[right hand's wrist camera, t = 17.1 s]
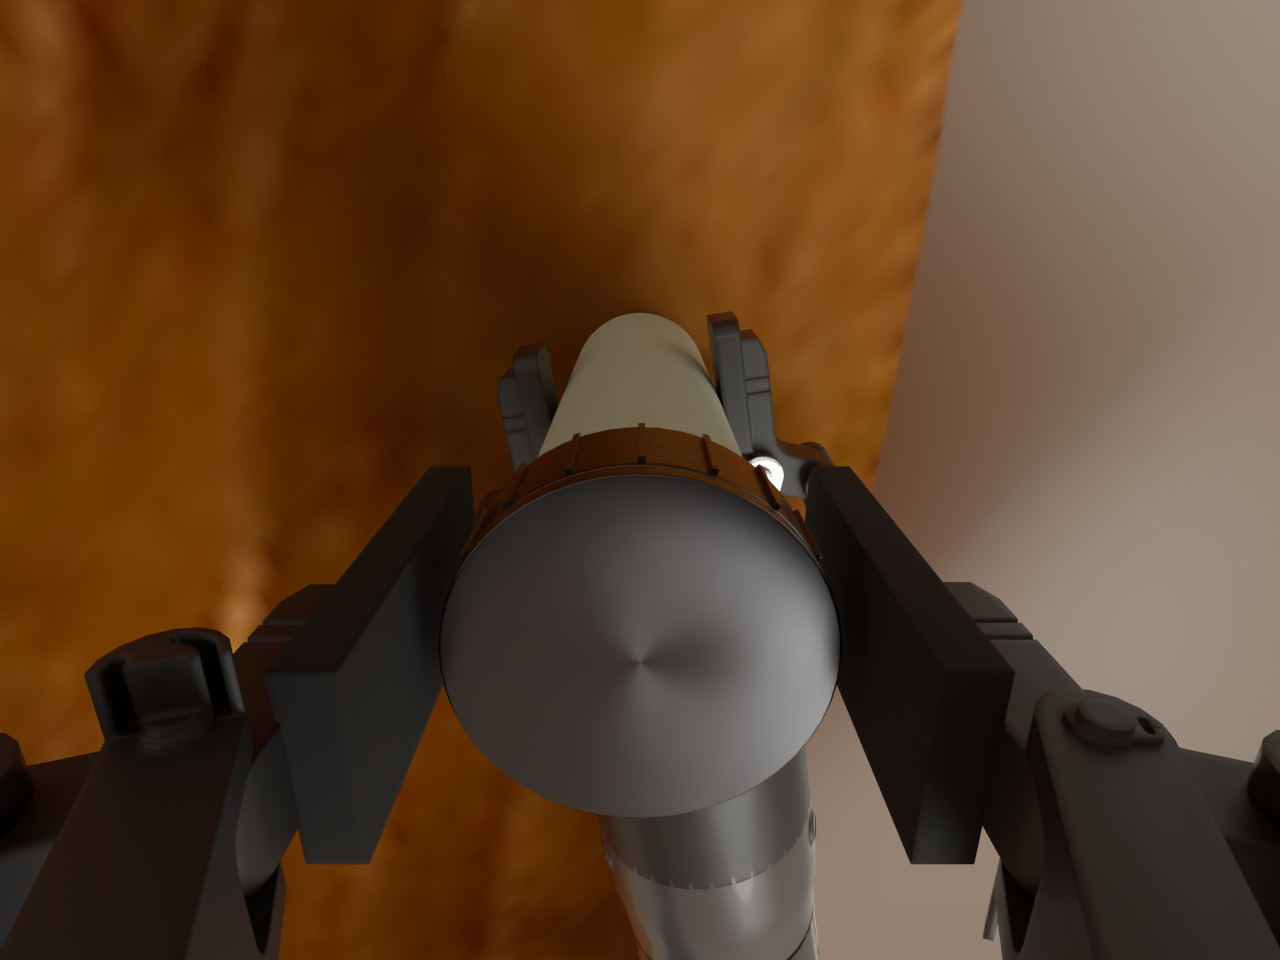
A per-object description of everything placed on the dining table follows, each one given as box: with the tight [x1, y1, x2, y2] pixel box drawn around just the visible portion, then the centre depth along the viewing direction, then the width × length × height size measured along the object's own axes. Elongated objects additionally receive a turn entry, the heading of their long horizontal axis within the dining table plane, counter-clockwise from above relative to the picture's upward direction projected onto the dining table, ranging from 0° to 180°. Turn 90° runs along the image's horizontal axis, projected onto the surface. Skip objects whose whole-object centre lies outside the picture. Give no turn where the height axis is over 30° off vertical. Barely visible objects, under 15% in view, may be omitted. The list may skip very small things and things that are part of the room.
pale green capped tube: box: [538, 313, 742, 457], centre depth 19 cm, size 5×5×17 cm
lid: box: [438, 423, 842, 818], centre depth 11 cm, size 6×6×2 cm
